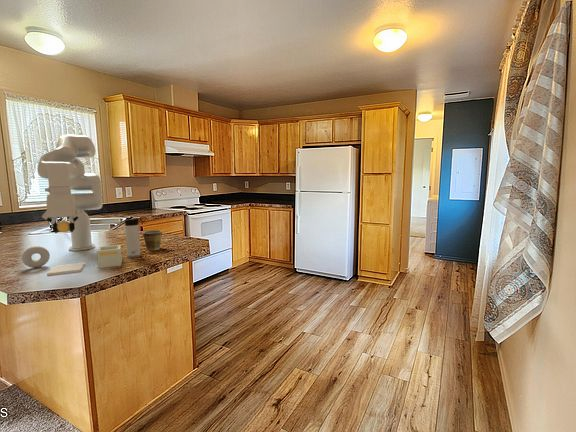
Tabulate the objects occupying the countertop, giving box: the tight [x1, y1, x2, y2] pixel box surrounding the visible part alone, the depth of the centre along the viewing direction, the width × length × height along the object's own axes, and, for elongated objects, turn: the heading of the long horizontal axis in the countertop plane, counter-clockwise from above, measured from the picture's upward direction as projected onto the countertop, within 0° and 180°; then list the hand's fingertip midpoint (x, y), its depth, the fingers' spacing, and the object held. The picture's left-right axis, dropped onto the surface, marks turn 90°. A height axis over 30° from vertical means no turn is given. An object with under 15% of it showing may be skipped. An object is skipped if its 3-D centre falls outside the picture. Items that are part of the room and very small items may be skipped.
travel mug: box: [124, 217, 142, 259], centre depth 159 cm, size 6×7×20 cm
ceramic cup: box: [142, 229, 163, 251], centre depth 177 cm, size 13×10×10 cm
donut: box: [21, 245, 51, 269], centre depth 141 cm, size 10×4×10 cm, turn 132°
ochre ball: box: [57, 220, 70, 233], centre depth 136 cm, size 5×5×5 cm
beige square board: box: [46, 262, 86, 276], centre depth 138 cm, size 12×12×1 cm
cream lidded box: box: [96, 244, 123, 269], centre depth 146 cm, size 9×9×8 cm
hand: (64, 231), depth 136 cm, fingers closed on ochre ball, 4 cm apart
